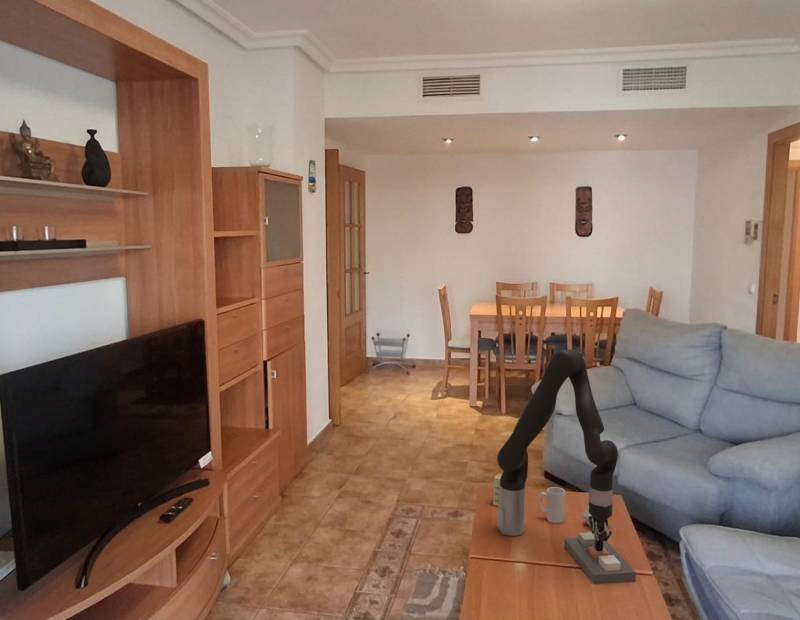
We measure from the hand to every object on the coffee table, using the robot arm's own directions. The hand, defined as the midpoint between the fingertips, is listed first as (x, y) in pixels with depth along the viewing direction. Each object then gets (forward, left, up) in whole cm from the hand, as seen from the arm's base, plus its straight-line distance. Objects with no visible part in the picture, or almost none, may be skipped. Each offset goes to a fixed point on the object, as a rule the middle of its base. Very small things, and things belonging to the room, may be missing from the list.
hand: (598, 549), depth 204 cm
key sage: (0, +8, -3) cm, 9 cm away
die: (+11, +26, -5) cm, 29 cm away
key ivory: (0, -8, -3) cm, 9 cm away
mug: (-4, +33, -5) cm, 34 cm away
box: (-17, +48, -5) cm, 51 cm away
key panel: (0, 0, -4) cm, 5 cm away
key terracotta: (0, 0, -4) cm, 4 cm away
